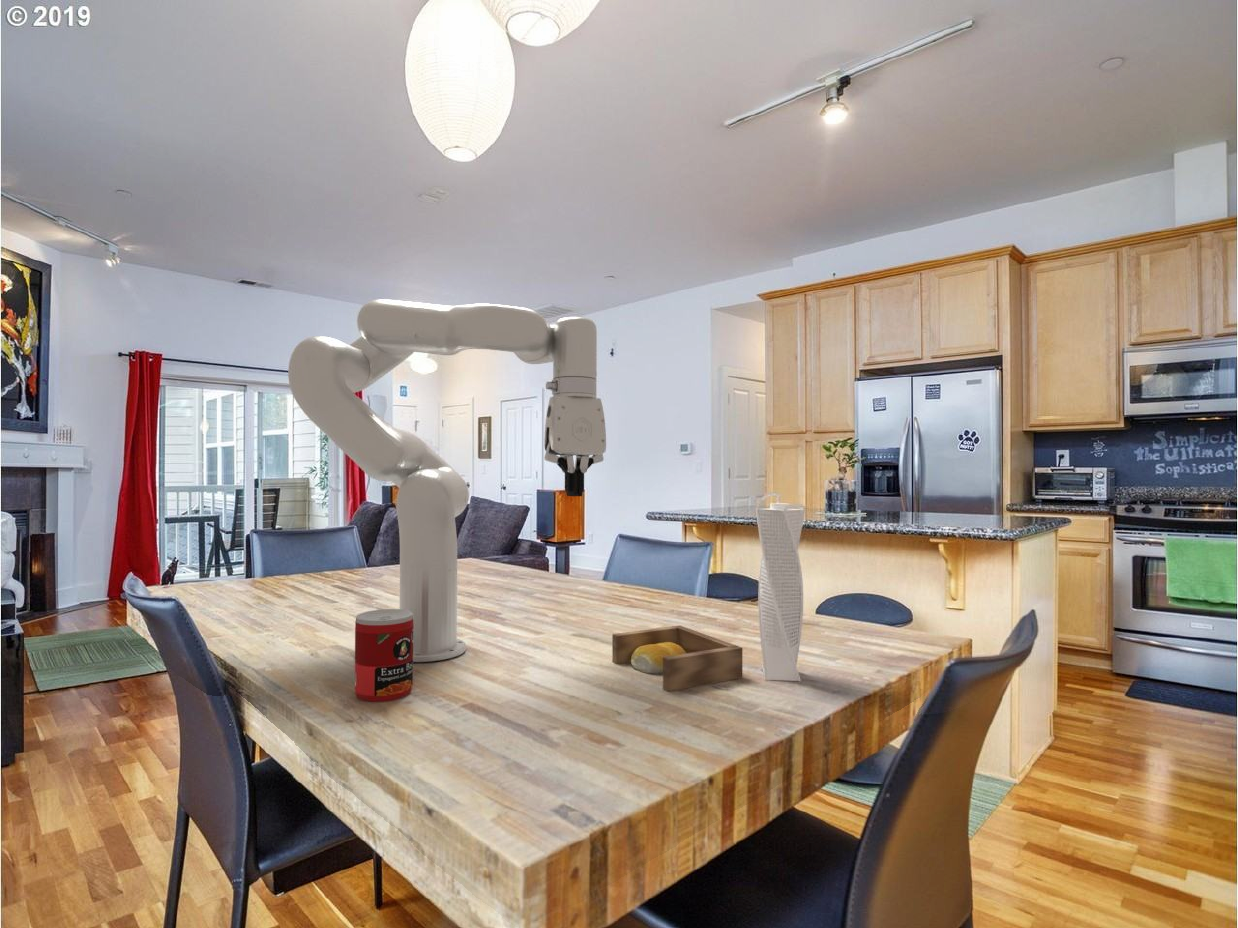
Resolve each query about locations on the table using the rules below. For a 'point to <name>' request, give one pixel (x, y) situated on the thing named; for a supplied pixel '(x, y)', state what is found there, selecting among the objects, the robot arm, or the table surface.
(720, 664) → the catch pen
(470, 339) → the robot arm
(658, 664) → the bread roll
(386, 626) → the canned food
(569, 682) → the table surface
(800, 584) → the skyscraper
